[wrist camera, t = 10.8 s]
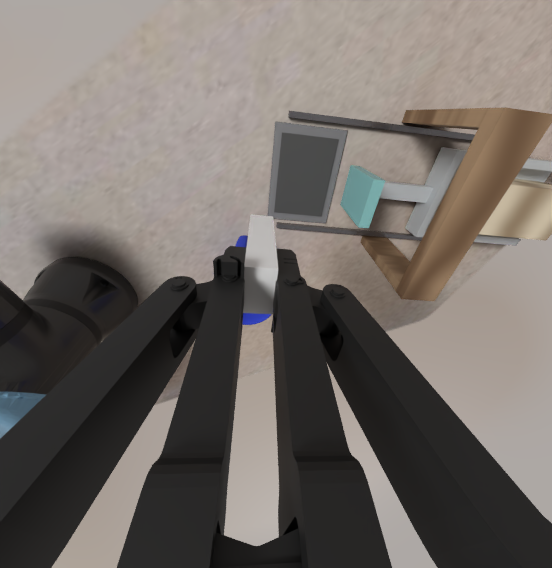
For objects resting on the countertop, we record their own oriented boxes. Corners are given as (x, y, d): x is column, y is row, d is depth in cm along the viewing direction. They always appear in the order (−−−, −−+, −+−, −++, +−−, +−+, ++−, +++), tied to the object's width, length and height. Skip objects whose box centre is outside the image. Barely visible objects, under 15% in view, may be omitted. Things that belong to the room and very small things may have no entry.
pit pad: (267, 217, 35) (267, 218, 35) (275, 121, 28) (275, 121, 28) (325, 222, 36) (325, 223, 36) (347, 130, 29) (348, 130, 29)
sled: (332, 221, 35) (350, 251, 28) (354, 136, 29) (385, 144, 21) (499, 236, 38) (558, 267, 30) (553, 160, 31) (646, 175, 24)
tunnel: (360, 242, 38) (401, 298, 26) (406, 110, 28) (505, 107, 16) (383, 244, 38) (434, 301, 27) (437, 114, 28) (556, 114, 17)
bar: (434, 216, 34) (461, 232, 30) (456, 171, 31) (491, 182, 26) (508, 223, 35) (545, 240, 31) (538, 181, 32) (586, 193, 27)
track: (276, 228, 36) (276, 231, 35) (289, 106, 27) (290, 106, 26) (455, 243, 39) (460, 247, 38) (520, 136, 30) (529, 137, 29)
